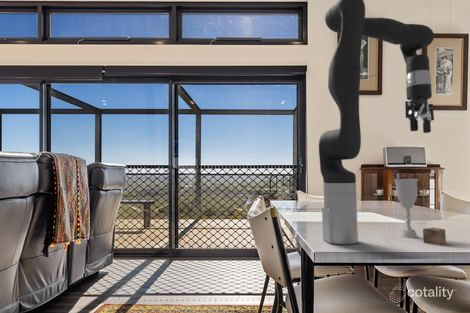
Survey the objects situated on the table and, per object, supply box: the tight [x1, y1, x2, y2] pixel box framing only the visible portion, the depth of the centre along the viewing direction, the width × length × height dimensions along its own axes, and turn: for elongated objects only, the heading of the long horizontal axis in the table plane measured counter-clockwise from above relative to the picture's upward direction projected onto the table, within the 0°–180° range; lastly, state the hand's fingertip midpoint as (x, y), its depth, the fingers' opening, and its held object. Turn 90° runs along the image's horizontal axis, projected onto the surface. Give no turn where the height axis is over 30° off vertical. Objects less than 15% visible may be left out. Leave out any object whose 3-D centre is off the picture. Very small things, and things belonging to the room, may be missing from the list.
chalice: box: [394, 178, 419, 239], centre depth 98 cm, size 7×7×18 cm
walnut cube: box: [422, 227, 447, 246], centre depth 88 cm, size 4×4×4 cm
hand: (420, 131), depth 107 cm, fingers open, 8 cm apart
